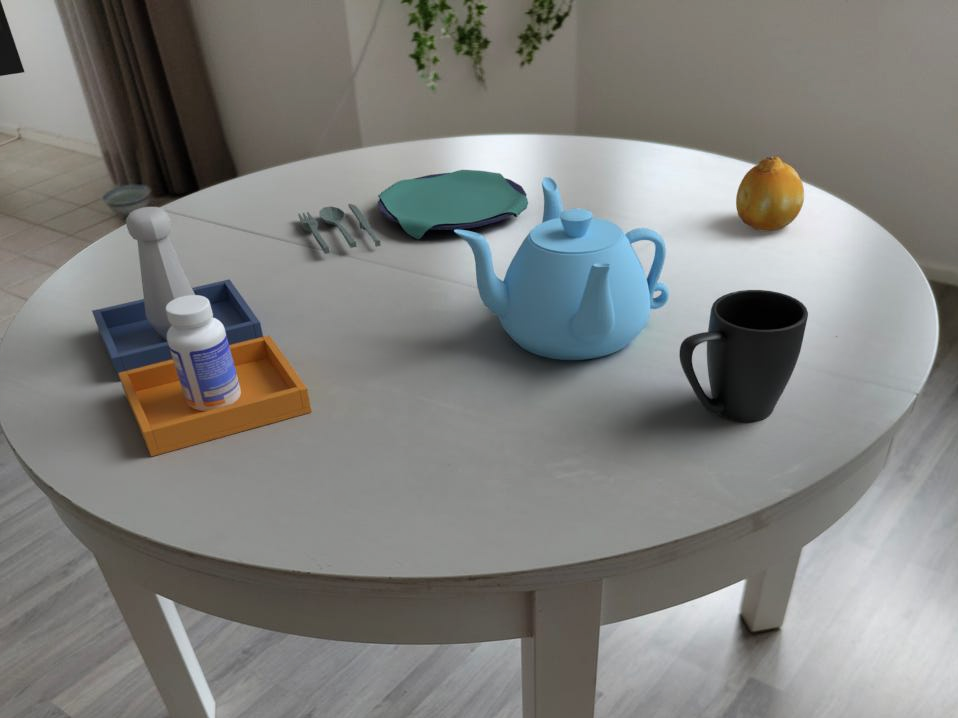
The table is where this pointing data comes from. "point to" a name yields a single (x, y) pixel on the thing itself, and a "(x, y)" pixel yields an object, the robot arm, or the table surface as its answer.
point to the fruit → (770, 195)
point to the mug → (747, 352)
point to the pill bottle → (201, 354)
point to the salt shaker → (157, 264)
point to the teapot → (572, 283)
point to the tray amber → (178, 425)
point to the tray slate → (143, 346)
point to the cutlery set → (434, 204)
